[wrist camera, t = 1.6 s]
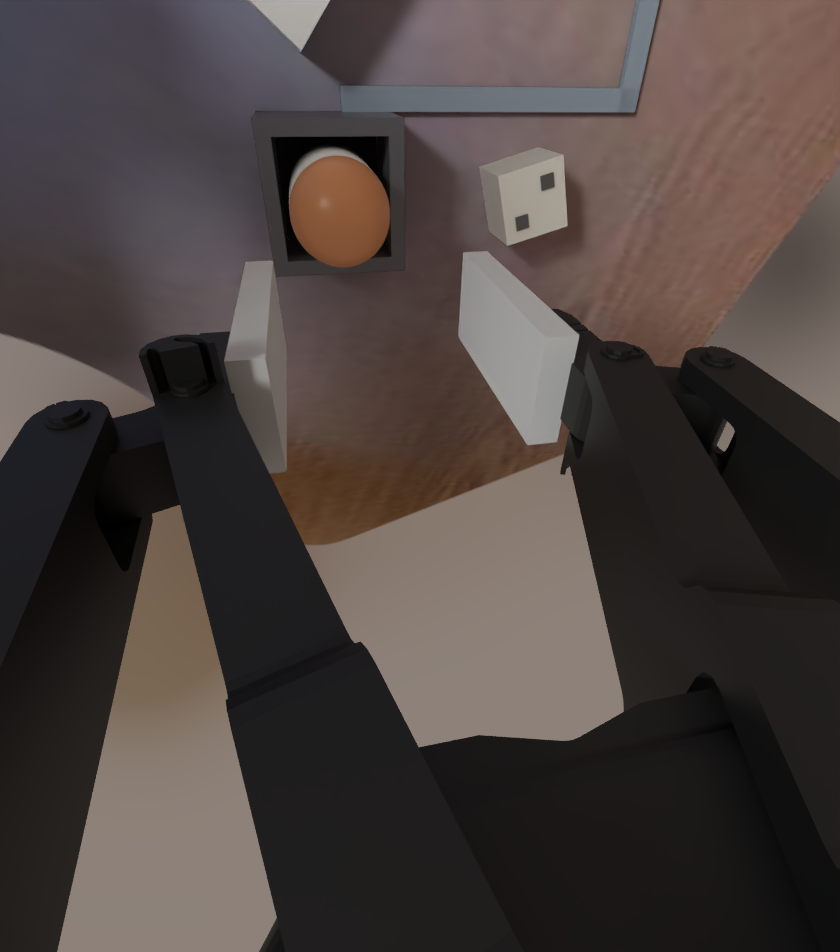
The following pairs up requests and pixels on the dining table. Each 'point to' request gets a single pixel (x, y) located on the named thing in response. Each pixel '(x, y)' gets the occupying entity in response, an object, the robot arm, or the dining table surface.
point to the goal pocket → (517, 96)
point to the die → (525, 195)
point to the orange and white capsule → (337, 206)
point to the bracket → (292, 17)
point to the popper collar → (332, 124)
